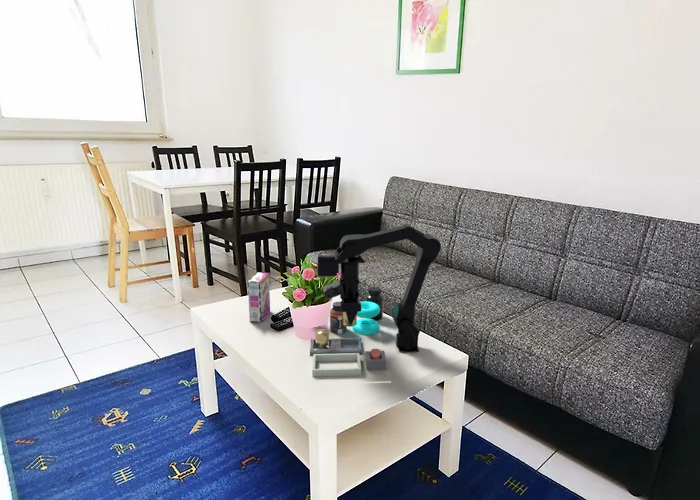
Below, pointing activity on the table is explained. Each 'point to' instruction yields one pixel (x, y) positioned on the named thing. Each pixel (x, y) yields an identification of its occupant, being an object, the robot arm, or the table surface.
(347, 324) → the billet
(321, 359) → the tray
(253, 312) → the candy bar box
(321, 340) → the cylinder
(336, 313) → the supplement bottle
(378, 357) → the button
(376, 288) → the supplement bottle
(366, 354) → the grey square socket block
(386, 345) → the table surface
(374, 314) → the donuts
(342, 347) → the grey flat frame
